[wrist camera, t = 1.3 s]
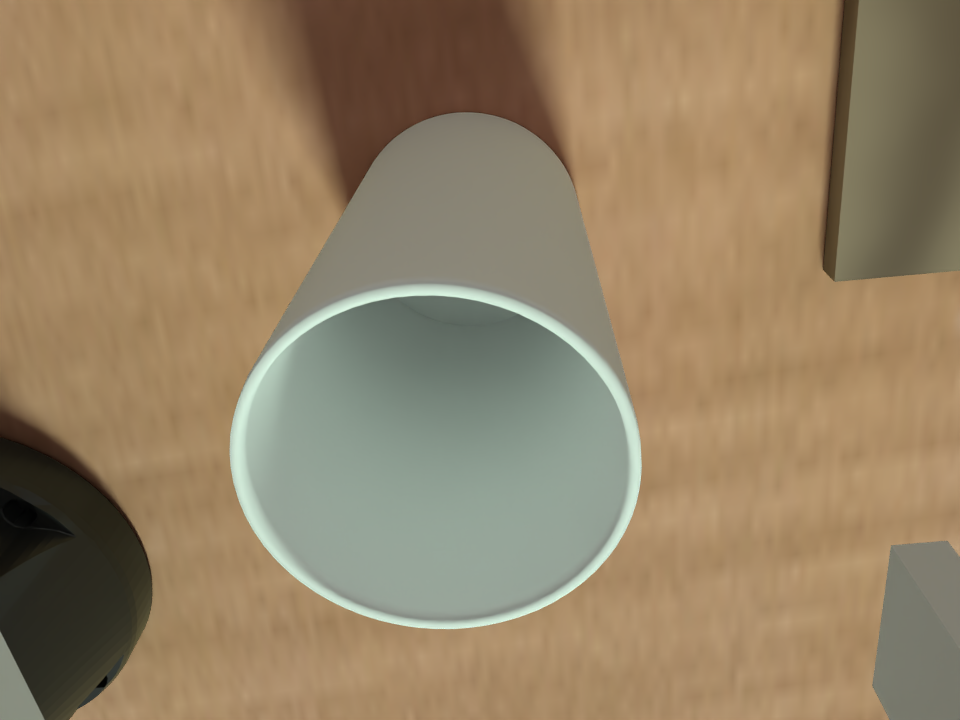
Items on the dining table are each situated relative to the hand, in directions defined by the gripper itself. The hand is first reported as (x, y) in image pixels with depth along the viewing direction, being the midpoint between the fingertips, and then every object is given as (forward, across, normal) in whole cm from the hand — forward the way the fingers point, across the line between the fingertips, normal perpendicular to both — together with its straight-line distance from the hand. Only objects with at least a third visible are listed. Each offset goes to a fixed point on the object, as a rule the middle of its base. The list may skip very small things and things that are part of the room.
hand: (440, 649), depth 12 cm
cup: (+21, 0, 0) cm, 21 cm away
